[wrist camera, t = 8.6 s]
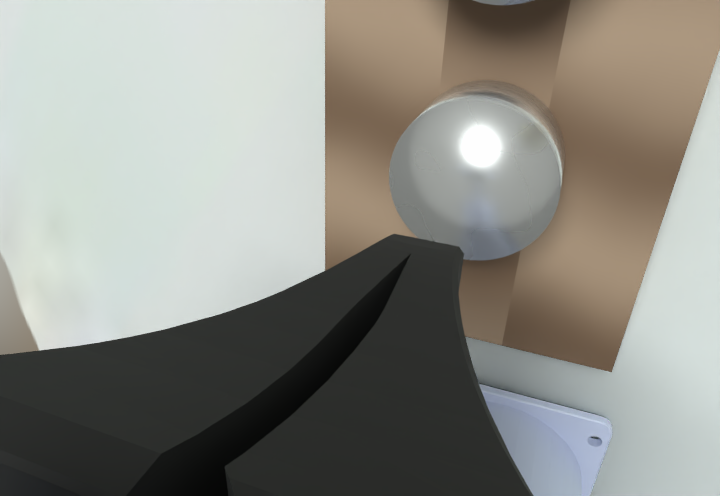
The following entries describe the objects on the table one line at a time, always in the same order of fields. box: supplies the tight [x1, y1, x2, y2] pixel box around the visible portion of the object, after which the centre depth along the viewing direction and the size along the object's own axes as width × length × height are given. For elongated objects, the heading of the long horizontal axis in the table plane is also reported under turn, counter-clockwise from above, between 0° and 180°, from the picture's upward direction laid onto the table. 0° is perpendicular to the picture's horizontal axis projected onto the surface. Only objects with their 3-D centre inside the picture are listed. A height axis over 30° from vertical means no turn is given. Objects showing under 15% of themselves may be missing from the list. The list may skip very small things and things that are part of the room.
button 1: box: [389, 80, 565, 261], centre depth 16 cm, size 4×4×4 cm
